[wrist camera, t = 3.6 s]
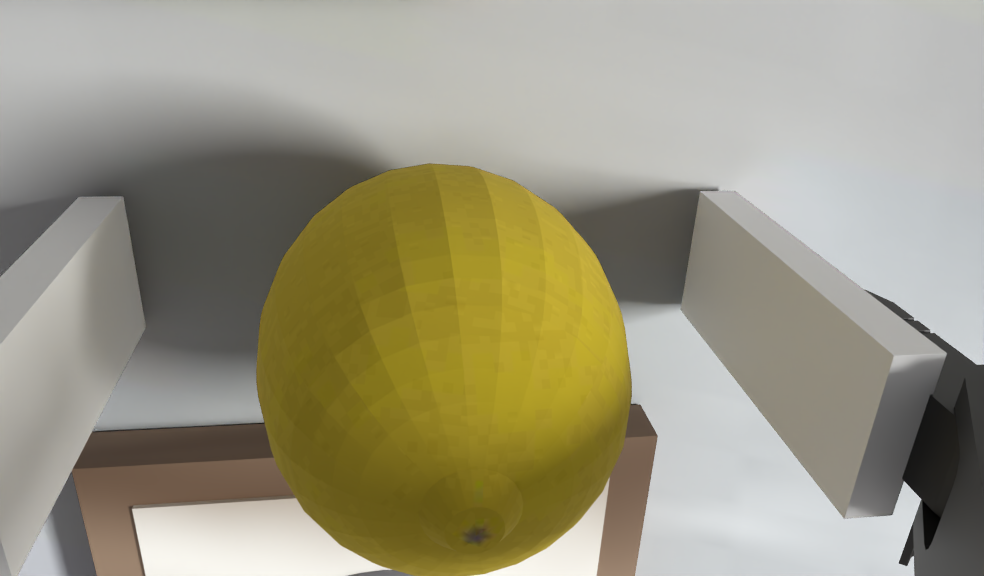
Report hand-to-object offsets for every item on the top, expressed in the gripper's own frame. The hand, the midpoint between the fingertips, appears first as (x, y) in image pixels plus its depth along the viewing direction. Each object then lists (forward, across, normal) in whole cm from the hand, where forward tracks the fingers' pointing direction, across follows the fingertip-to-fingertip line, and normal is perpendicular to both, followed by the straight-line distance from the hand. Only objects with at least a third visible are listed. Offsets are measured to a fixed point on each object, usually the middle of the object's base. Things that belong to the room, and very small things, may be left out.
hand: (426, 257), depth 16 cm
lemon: (0, 0, 0) cm, 0 cm away
